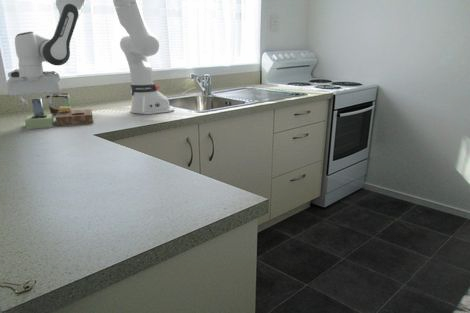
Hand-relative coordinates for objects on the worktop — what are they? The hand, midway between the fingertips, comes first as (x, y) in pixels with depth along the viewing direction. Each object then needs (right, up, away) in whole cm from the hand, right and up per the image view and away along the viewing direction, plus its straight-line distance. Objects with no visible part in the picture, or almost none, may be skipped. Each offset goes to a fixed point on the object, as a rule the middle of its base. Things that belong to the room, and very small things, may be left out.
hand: (37, 104), depth 163 cm
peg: (0, -9, +3) cm, 10 cm away
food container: (-3, 0, +30) cm, 31 cm away
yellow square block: (+7, -5, +13) cm, 15 cm away
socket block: (+12, -6, +11) cm, 18 cm away
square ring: (0, -9, +3) cm, 10 cm away
